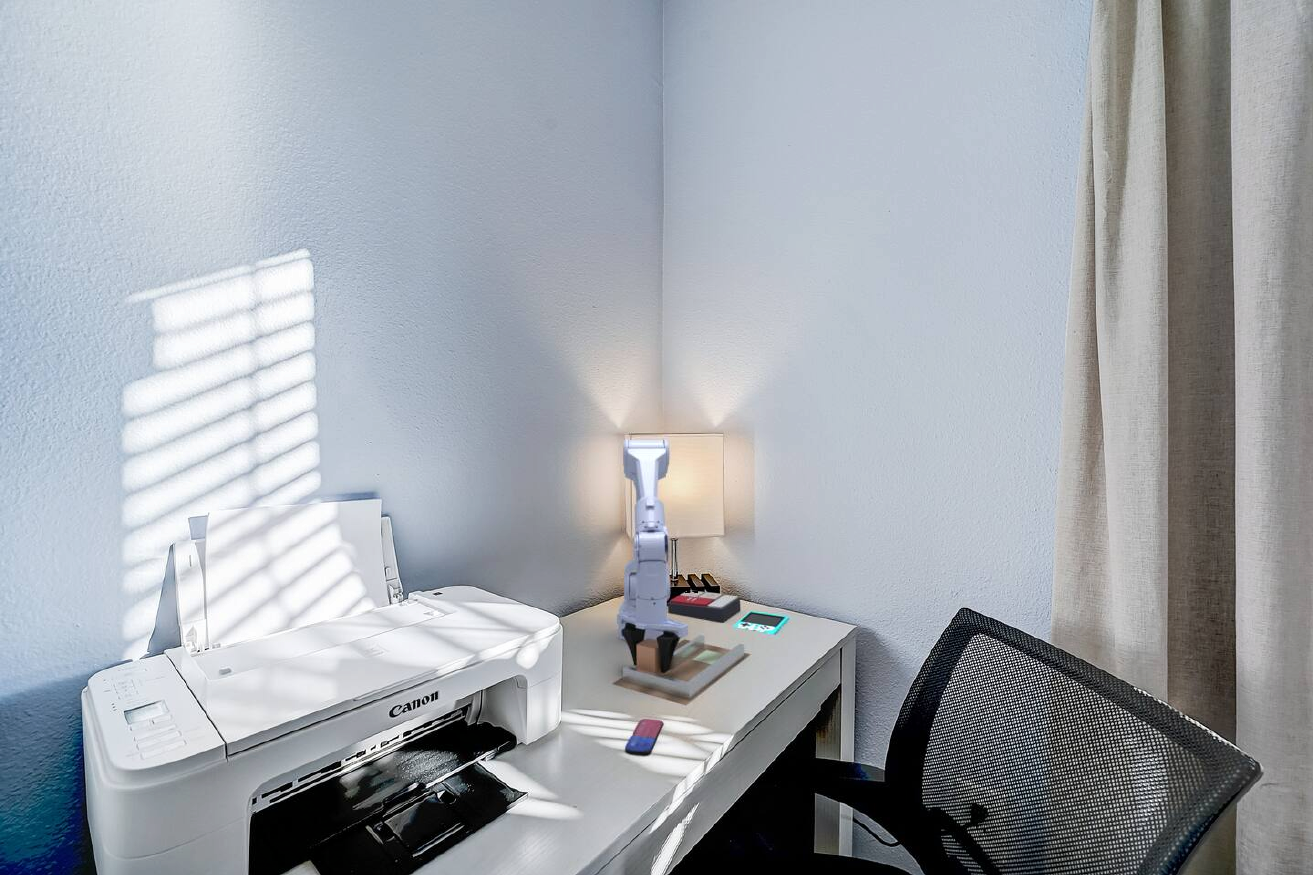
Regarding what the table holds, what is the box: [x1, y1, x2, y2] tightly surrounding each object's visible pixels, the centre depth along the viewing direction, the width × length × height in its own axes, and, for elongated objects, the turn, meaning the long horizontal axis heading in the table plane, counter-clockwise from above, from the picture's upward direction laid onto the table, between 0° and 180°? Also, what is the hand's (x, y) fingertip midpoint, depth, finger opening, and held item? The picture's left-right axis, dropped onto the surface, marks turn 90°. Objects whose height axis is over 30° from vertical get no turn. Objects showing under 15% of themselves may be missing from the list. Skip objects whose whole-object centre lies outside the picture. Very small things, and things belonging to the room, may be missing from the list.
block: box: [636, 638, 666, 675], centre depth 119 cm, size 4×4×6 cm
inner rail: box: [670, 634, 705, 670], centre depth 128 cm, size 5×13×2 cm, turn 147°
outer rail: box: [622, 643, 745, 700], centre depth 121 cm, size 14×22×2 cm, turn 147°
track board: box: [611, 638, 752, 706], centre depth 122 cm, size 16×26×1 cm, turn 147°
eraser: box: [624, 718, 665, 756], centre depth 97 cm, size 11×4×2 cm, turn 167°
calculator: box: [667, 591, 741, 624], centre depth 159 cm, size 11×4×15 cm
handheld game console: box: [732, 610, 790, 636], centre depth 148 cm, size 10×16×1 cm, turn 153°
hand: (651, 667), depth 119 cm, fingers open, 5 cm apart
